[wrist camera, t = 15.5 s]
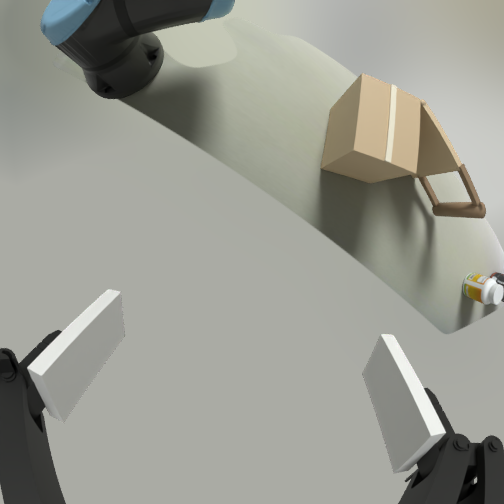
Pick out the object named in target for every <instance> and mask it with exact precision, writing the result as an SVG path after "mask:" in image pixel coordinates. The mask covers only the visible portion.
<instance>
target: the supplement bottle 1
mask: <svg viewBox="0 0 504 504" xmlns="http://www.w3.org/2000/svg"><path fill="white" fill-rule="evenodd" d="M463 293H464V295H465V296H467V297H469V298H471V299H474V300H476V301H478V302H481V303H483V304H490V303H492V304H495V305H497V304H499V303H500V302H501V300H502V298H503V293H504V289H503V286H502V285H500V284H497V282H496V281H495V280H494V279H492V278H489V277H486V276H482V275H479V274H476V273H470V274H468V275H467V276H466V278H465V280H464V282H463Z"/></svg>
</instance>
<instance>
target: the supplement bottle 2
mask: <svg viewBox="0 0 504 504" xmlns="http://www.w3.org/2000/svg"><path fill="white" fill-rule="evenodd" d="M490 278H492V279H494V280H495V281H496V282H497V284H500V285H502V286H503V289H504V274H500V273H493V274H492V275H491V276H490ZM501 301H503V302H504V293H503V298H502V300H501Z"/></svg>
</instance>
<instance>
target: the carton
mask: <svg viewBox="0 0 504 504" xmlns="http://www.w3.org/2000/svg"><path fill="white" fill-rule="evenodd" d="M419 134H420V99H419V98H417V97H415V96H413V95H411V94H409V93H407V92H405V91H403V90H401V89H398V88H397V87H396V86H395V85H393V84H391V85H390V84H387V83H385V82H383V81H380V80H378V79H376V78H373V77H371V76H368V75H366V74H363V73H362V74H361V75H360V76H359V77H358V78H357V80H356V81H355V82H354V83H353V84H352V85H351V86H350V87H349V89H348V90H347V91H346V92H345V93H344V94H343V95H342V96H341V98H340V99H339V100H338V101H337V102H336V103H335V104H334V106H333V107H332V108H331V110H330V116H329V122H328V129H327V135H326V141H325V147H324V152H323V158H322V164H321V169H323V170H327V171H330V172H334V173H337V174H341V175H344V176H348V177H351V178H354V179H357V180H361V181H364V182H367V183H374V182H379V181H383V180H388V179H393V178H397V177H402V176H407V175H412V174H416V171H417V161H418V150H419Z"/></svg>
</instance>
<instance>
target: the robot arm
mask: <svg viewBox="0 0 504 504" xmlns="http://www.w3.org/2000/svg"><path fill="white" fill-rule="evenodd" d="M234 2H235V0H52V1H51V2H50V3H49V5H48V6H47V8H46V10H45V12H44V14H43V16H42V19H41V31H42V33H43V34H44V35H45V36H46V37H47V38H48V39H49V41H50V43H51V44H52V45H55V46H56V47H57V48H58V49H59V50H61V51H62V52H63V53H64V54H66V55H67V56H68V57H69V58H71V59H72V60H73V61H74V62H75V63H77V64H78V65H79V66H80V67H81V68H82V69H83V72H84V75H85V78H86V81H87V83H88V85H89V87H90V88H91V89H92V90H93V91H94V92H95V93H96V94H98V95H99V96H101V97H103V98H107V99H118V98H122V97H126V96H128V95H131V94H133V93H135V92H137V91H138V90H140V89H141V88H143V87H144V86H145V85H147V84H148V83H149V82H150V81H151V80H152V79H153V77H154V76H155V75H156V74H157V72H158V71H159V69H160V67H161V64H162V62H163V57H164V51H163V47H162V45H161V42H160V40H159V39H158V38H157V36H156V35H155V34H154V33H152V32H153V31H157V30H161V29H165V28H169V27H174V26H179V25H184V24H189V23H195V22H198V23H200V22H204V21H205V20H209V19H215V18H220V17H223V16H225V15H227V14H228V13H229V12H230V11H231V10H232V8H233V6H234ZM124 337H125V331H124V322H123V311H122V298H121V292H119V291H115V290H111V289H108V290H107V291H106V292H105V293H103V294H102V295H101V296H100V297H99V298H98V299H97V300H96V301H95V302H93V303H92V304H91V305H90V306H89V307H88V308H87V309H86V310H85V311H84V312H83V313H82V314H81V315H79V316H78V317H77V318H76V319H75V320H74V321H73V322H72V323H71V324H70V325H69V326H68V327H67V328H66V329H65V330H64V331H63V332H62V331H60V330H57V331H55V332H53V333H51V334H49V335H48V336H47V337H46V338H44V339H43V341H42V343H39V344H38V345H37V347H35V348H34V349H33V350H32V351H31V352H30V353H29V354H28V355H27V356H26V357H25V358H24V359H23V360H22V361H21V362H20V363H19V364H18V361H17V359H16V356H15V354H14V353H13V352H12V351H11V350H9V349H7V348H1V349H0V485H1V490H2V495H3V499H4V504H66V503H65V500H64V497H63V494H62V491H61V488H60V485H59V482H58V479H57V475H56V472H55V468H54V464H53V460H52V456H51V452H50V448H49V443H48V438H47V433H46V427H45V421H44V416H43V413H42V410H43V409H44V408H45V407H46V409H47V411H48V412H49V414H50V415H51V416H53V417H54V418H56V419H58V420H60V421H62V422H63V423H64V422H65V420H66V419H67V417H68V416H69V414H70V412H71V411H72V410H73V408H74V407H75V405H76V404H77V402H78V401H79V399H80V398H81V397H82V395H83V394H84V392H85V391H86V389H87V388H88V386H89V385H90V384H91V382H92V381H93V379H94V378H95V376H96V375H97V373H98V372H99V371H100V369H101V368H102V367H103V365H104V364H105V362H106V361H107V360H108V358H109V357H110V356H111V354H112V353H113V352H114V350H115V349H116V347H117V346H118V345H119V343H120V342H121V341H122V339H123V338H124ZM362 375H363V378H364V380H365V383H366V386H367V389H368V392H369V395H370V398H371V401H372V404H373V407H374V409H375V412H376V416H377V419H378V422H379V425H380V428H381V431H382V435H383V438H384V441H385V444H386V448H387V451H388V454H389V458H390V461H391V465H392V468H393V472H394V473H398V472H403V471H408V470H409V469H411V467H413V466H414V465H415V464H416V463H417V466H418V469H417V470H416V471H415V472H414V473H412V474H411V475H410V476H409V477H408V478H407V479H406V480H405V482H407V481H408V480H410V479H411V481H410V483H409V485H408V486H407V489H406V490H405V492H404V494H403V496H402V498H401V500H400V502H399V503H398V504H504V449H503V445H502V442H501V441H500V439H499V438H497V437H495V436H488V437H486V438H485V439H484V440H483V441H482V443H470V441H469V440H468V438H467V437H465V436H464V435H462V434H455V432H454V430H453V429H452V427H451V424H450V422H449V421H448V419H447V417H446V415H445V413H444V411H442V407H441V405H439V402H438V400H437V398H436V396H435V395H434V394H433V393H432V392H431V391H430V390H429V389H428V388H423V386H422V385H421V383H420V381H419V379H418V377H417V375H416V374H415V372H414V370H413V368H412V367H411V365H410V363H409V361H408V360H407V358H406V356H405V354H404V353H403V351H402V349H401V347H400V346H399V344H398V342H397V341H396V339H395V337H394V336H393V335H387V334H381V335H380V337H379V339H378V341H377V344H376V346H375V348H374V350H373V352H372V355H371V357H370V359H369V361H368V363H367V365H366V367H365V369H364V371H363V373H362ZM476 477H477V483H475V484H474V479H475V478H476Z"/></svg>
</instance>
